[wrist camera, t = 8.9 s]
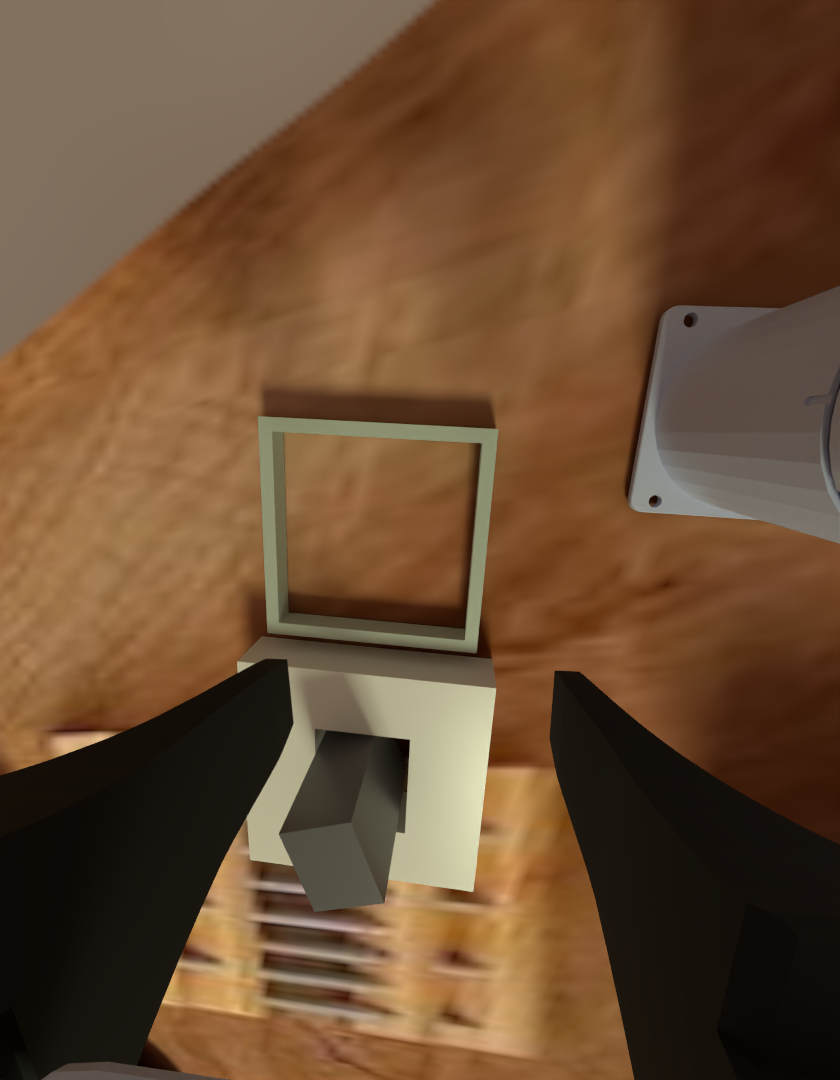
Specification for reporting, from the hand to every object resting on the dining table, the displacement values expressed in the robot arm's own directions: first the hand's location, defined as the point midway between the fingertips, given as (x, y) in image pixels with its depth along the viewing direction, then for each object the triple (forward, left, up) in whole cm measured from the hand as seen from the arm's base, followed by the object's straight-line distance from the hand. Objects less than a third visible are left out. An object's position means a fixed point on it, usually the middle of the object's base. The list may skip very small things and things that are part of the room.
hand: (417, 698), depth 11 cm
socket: (+3, +10, -9) cm, 14 cm away
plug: (+3, +10, -9) cm, 14 cm away
